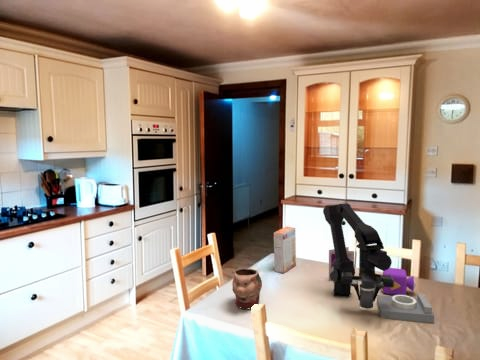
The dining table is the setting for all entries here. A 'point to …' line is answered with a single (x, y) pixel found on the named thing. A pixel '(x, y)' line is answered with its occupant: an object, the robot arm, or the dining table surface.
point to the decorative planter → (246, 287)
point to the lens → (366, 297)
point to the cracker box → (284, 249)
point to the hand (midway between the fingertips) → (366, 300)
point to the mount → (405, 308)
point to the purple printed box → (333, 258)
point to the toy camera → (399, 282)
